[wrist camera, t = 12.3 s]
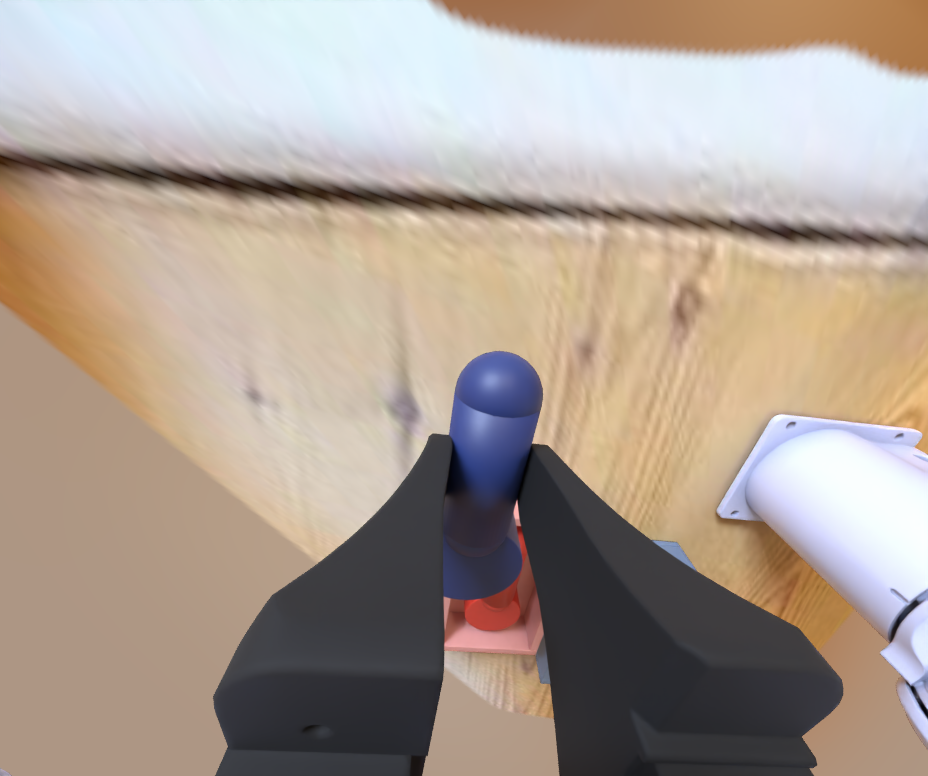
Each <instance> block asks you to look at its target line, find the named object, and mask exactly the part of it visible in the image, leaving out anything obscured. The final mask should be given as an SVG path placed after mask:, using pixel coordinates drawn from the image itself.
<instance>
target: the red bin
mask: <svg viewBox="0 0 928 776" xmlns="http://www.w3.org/2000/svg"><path fill="white" fill-rule="evenodd" d="M514 516H515V522H516V526H521V524H520V520H519V511H518V503H517V501H516V505H515V509H514ZM517 591H518V598H519V604H520V610H521V613H520V617H519V619H518V620H517V621H516V622H515V623H514V624H513V625H511V626H509V627H507V628H504V629H500V630H493V631H488V630H481V629H478V628H475V627H473V626H472V625H470V624H469V623H468V622H467V620H466V619H465V614H464V600H457V599H451V598H447V597H444V627H445V643H444V651H464V652H484V653H504V654H524V655H536V652H537V650H538V647H539V645H540V642H541V639H542V637H543V634H544V632H543V625H542V618H541V612H540V605H539V600H538V595H537V590H536V586H535V582H534V578H533V573H532V569H531V565H530V561H529V557H528V553H527V555H526V558H525V561H524V565H523V568H522V571H521V575H520V578H519V581H518V584H517Z"/></svg>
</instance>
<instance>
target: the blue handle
mask: <svg viewBox="0 0 928 776" xmlns="http://www.w3.org/2000/svg"><path fill="white" fill-rule="evenodd" d="M542 400H543V388H542V385H541V381H540V378H539V376H538V374H537V372H536V371H535V369H534V368H533V367H532V366H531V365H530V364H529V363H528V362H527V361H526V360H524V359H523V358H521V357H520V356H518V355H516V354H513V353H509V352H503V351H494V352H489V353H485V354H482V355H480V356H478V357H476V358H475V359H473V360H472V361H471V362H470V363H468V364H467V366H466V367H465V368H464V369H463V371H462V372H461V374H460V376H459V378H458V381H457V385H456V388H455V395H454V402H453V410H452V417H451V424H450V432H449V435H450V437H451V438H452V454H451V461H450V468H449V475H448V482H447V489H446V496H445V503H444V516H443V589H444V597H447V598H451V599H457V600H476V599H482V598H487V597H490V596H493V595H495V594H498V593H500V592H502V591H503V590H505V589H506V588H508V587H509V586H510V585H512V584H513V583H514V581H515V580H516V579H517V578H518V576H519V574H520V572H521V569H522V565H523V558H522V553H521V547H520V542H519V537H518V532H517V527H516V522H515V516H514V509H515V505H516V501H517V497H518V494H519V490H520V486H521V482H522V479H523V475H524V471H525V467H526V463H527V460H528V456H529V452H530V448H531V445H532V441H533V437H534V433H535V429H536V426H537V422H538V418H539V414H540V410H541V407H542Z"/></svg>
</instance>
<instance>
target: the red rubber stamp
mask: <svg viewBox="0 0 928 776" xmlns="http://www.w3.org/2000/svg"><path fill="white" fill-rule="evenodd" d="M516 527H517V532H518V537H519V542H520V547H521V553H522V558H523V565H524V561H525V558H526V555H527V549H526V545H525V541H524V537H523V533H522V529H521V526H516ZM523 565H522V568H523ZM521 571H522V569H521ZM520 575H521V572H520V574H519V576H518V578H517V579H516V580H515V581H514V583H513V584H512V585H510V586H509V587H508V588H506V589H505V590H503V591H502V592H500V593H498V594H495V595H493V596H490V597H487V598H482V599H476V600H464V614H465V619H466V620H467V622H468V623H469V624H470V625H472V626H473V627H475V628H478V629H481V630H488V631H493V630H500V629H504V628H507V627H509V626H511V625H513V624H514V623H515V622H516V621H517V620H518V619H519V617H520V613H521V610H520V604H519V598H518V591H517V584H518V581H519V578H520Z"/></svg>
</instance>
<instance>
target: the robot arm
mask: <svg viewBox="0 0 928 776" xmlns="http://www.w3.org/2000/svg"><path fill="white" fill-rule="evenodd" d="M921 438H922V433H921V432H919V431H917V430H915V429H911V428H902V427H893V426H884V425H875V424H866V423H857V422H847V421H838V420H829V419H820V418H811V417H802V416H793V415H784V414H780V415H777V416H775V417H773V418H772V419H771V420H770V422H769V424H768V425H767V427H766V429H765V430H764V432H763V434H762V435H761V437H760V438H759V440H758V442H757V443H756V445H755V447H754V448H753V450H752V452H751V453H750V455H749V457H748V458H747V460H746V462H745V463H744V465H743V467H742V468H741V470H740V472H739V473H738V475H737V476H736V478H735V480H734V481H733V483H732V485H731V486H730V488H729V490H728V491H727V493H726V495H725V496H724V498H723V500H722V501H721V503H720V505H719V506H718V508H717V510H716V512H717V514H718V515H719V516H720V517H721V518H728V519H740V520H751V521H763V522H765V523H767V524H768V525H769V526H770V527H771V528H772V529H773V530H774V531H775V532H776V533H777V534H778V535H779V536H780V537H781V538H782V539H783V540H784V541H785V542H786V543H787V544H788V545H789V546H790V547H791V548H792V549H793V550H794V551H795V552H796V553H797V554H798V555H799V556H800V557H801V558H802V559H803V560H804V561H805V562H807V563H808V564H809V565H810V566H811V567H812V568H813V569H814V570H815V571H816V572H817V573H818V574H819V575H820V576H821V577H822V578H823V579H824V580H825V581H826V582H827V583H828V584H829V585H830V586H831V587H832V588H833V589H834V590H835V591H836V592H837V593H838V594H839V595H840V596H841V597H842V598H843V599H844V600H845V601H846V602H848V603H849V604H850V605H851V606H852V607H853V608H854V609H855V610H856V611H857V612H858V613H859V614H860V615H861V616H862V617H863V618H864V619H865V620H866V621H867V622H868V623H869V624H870V625H871V626H872V627H873V628H874V629H875V630H876V631H877V632H878V633H879V634H880V635H881V636H882V637H883V638H885V640H886V641H888V642H889V643H890V644H889V645H888V646H887V647H886V648H884V649H883V650H882V651H881V652H880V654H881V655H882V656H883V657H884V658H885V660H887V662H888V663H889V664H890V665H891V666H892V667H893V668H894V669H895V670H896V671H897V672H898V673H899V674H900V675H901V677H900V678H898V680H897V683H896V691H897V694H898V697H899V700H900V702H901V704H902V706H903V708H904V710H905V713H906V716H907V718H908V720H909V722H910V724H911V726H912V727H913V729H914V731H915V732H916V734H917V735H918V737H919V739H920V740H921V741H922V743H923V744H924V746H925V747H926V748H927V750H928V454H926V453H924V452H922V451H920V450H918V449H916V448H914V447H915V445H916V444H917V443H918V442H919V441H920V440H921ZM451 454H452V438H451V437H450V435H442V434H432V435H430V436H429V438H428V441H427V444H426V446H425V448H424V450H423V452H422V454H421V456H420V457H419V459H418V461H417V462H416V464H415V465H414V467H413V468H412V470H411V471H410V473H409V474H408V476H407V477H406V478H405V480H404V481H403V482H402V484H401V485H400V486H399V487H398V489H397V490H396V491H395V493H394V494H393V495H392V496H391V497H390V498H389V500H388V501H387V502H386V503H385V504H384V505H383V506H382V507H381V508H380V509H379V511H378V512H377V513H376V514H375V515H374V516H373V517H372V518H371V519H370V520H369V521H367V522H366V523H365V524H364V525H363V526H362V527H361V528H360V529H359V530H358V531H357V532H356V533H355V534H354V535H353V536H351V537H350V538H349V539H348V540H347V541H345V542H344V543H343V544H342V545H340V546H339V547H338V548H337V549H336V550H334V551H333V552H332V553H331V554H329V555H328V556H327V557H326V558H324V559H323V560H322V561H321V562H319V563H318V564H317V565H315V566H314V567H313V568H311V569H310V570H308V571H307V572H305V573H304V574H302V575H301V576H299V577H298V578H297V579H295V580H294V581H292V582H291V583H289V584H288V585H287V586H285V587H284V588H282V589H281V590H279V591H278V592H276V593H275V594H273V595H272V596H271V598H270V599H269V600H268V601H267V603H266V604H265V606H264V607H263V609H262V610H261V612H260V613H259V614H258V616H257V617H256V619H255V620H254V622H253V623H252V625H251V626H250V628H249V630H248V631H247V632H246V634H245V636H244V637H243V639H242V641H241V642H240V644H239V646H238V648H237V650H236V652H235V654H234V656H233V658H232V660H231V662H230V664H229V666H228V668H227V670H226V672H225V674H224V676H223V678H222V680H221V682H220V684H219V686H218V688H217V690H216V692H215V694H214V696H213V699H214V709H215V712H216V715H217V718H218V720H219V723H220V726H221V728H222V731H223V734H224V737H225V739H226V742H227V745H228V748H227V750H226V752H225V755H224V757H223V760H222V762H221V764H220V766H219V768H218V771H217V773H216V775H215V776H422V773H423V768H424V763H425V758H426V756H428V751H429V746H430V741H431V736H432V731H433V726H434V721H435V716H436V711H437V706H438V701H439V696H440V691H441V687H442V681H443V673H444V643H445V627H444V589H443V516H444V503H445V496H446V489H447V482H448V475H449V468H450V461H451ZM517 503H518V511H519V520H520V524H521V529H522V533H523V537H524V541H525V545H526V549H527V553H528V557H529V561H530V565H531V569H532V573H533V578H534V582H535V586H536V590H537V595H538V600H539V605H540V612H541V618H542V625H543V632H544V639H545V646H546V654H547V662H548V669H549V677H550V686H551V695H552V704H553V713H554V722H555V729H556V730H555V731H556V741H557V753H558V764H559V774H560V776H814V775H813V774H812V772H811V771H810V769H809V768H814V767H815V766H817V762H816V758H815V756H814V755H813V753H812V752H811V750H810V749H809V747H808V746H807V744H806V743H805V741H804V740H803V738H802V736H803V735H804V734H805V733H807V732H808V731H809V730H810V729H811V728H813V727H814V726H815V725H816V724H818V723H819V722H820V721H821V720H823V719H824V718H825V717H826V716H828V715H829V714H830V713H831V712H832V711H833V710H834V709H835V708H836V707H837V706H838V705H839V703H840V701H841V699H842V696H843V684H842V680H841V678H840V677H839V676H838V675H837V674H836V672H835V671H834V670H833V669H832V668H831V666H830V665H829V664H828V663H827V661H826V660H825V659H824V658H823V657H822V655H821V654H820V653H819V652H818V651H817V649H816V648H815V647H814V646H813V645H812V643H811V642H810V641H809V640H808V639H807V637H806V636H805V635H804V634H803V633H802V631H801V630H800V629H799V628H797V627H796V626H794V625H792V624H790V623H788V622H786V621H784V620H782V619H781V618H779V617H777V616H775V615H773V614H771V613H769V612H767V611H765V610H764V609H762V608H760V607H758V606H756V605H754V604H752V603H750V602H748V601H747V600H745V599H743V598H741V597H739V596H737V595H736V594H734V593H732V592H731V591H729V590H727V589H725V588H724V587H722V586H720V585H719V584H717V583H715V582H714V581H712V580H710V579H709V578H707V577H705V576H704V575H702V574H700V573H699V572H697V571H696V570H694V569H693V568H691V567H689V566H688V565H686V564H685V563H683V562H682V561H680V560H679V559H677V558H676V557H674V556H673V555H672V554H670V553H669V552H667V551H666V550H664V549H663V548H661V547H660V546H658V545H657V544H656V543H654V542H653V541H652V540H650V539H649V538H647V537H646V536H645V535H644V534H642V533H641V532H640V531H638V530H637V529H636V528H635V527H633V526H632V525H631V524H629V523H628V522H627V521H626V520H624V519H623V518H622V517H621V516H620V515H619V514H617V513H616V512H615V511H614V510H613V509H612V508H611V507H609V506H608V505H607V504H606V503H605V502H604V501H603V500H602V499H601V498H599V497H598V496H597V495H596V494H595V493H594V492H593V491H592V490H591V489H590V488H589V487H588V486H587V485H586V484H585V483H584V482H583V481H582V480H581V479H580V478H579V477H578V476H577V475H576V474H575V473H574V472H573V471H572V470H571V469H570V468H569V467H568V466H567V465H566V464H565V463H564V462H563V461H562V460H561V458H560V457H559V456H558V455H557V454H556V453H555V452H554V451H553V450H552V449H551V448H550V447H549V446H548V445H540V444H532V445H531V448H530V452H529V456H528V460H527V463H526V467H525V471H524V475H523V479H522V482H521V486H520V490H519V494H518V497H517ZM0 776H11V775H10V774H9V773H8V772H6V771H5V770H3V769H1V768H0Z"/></svg>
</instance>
